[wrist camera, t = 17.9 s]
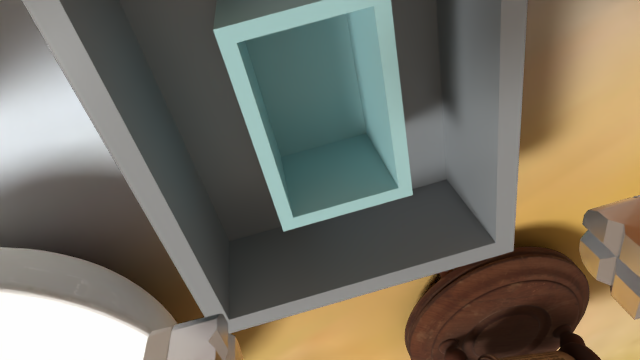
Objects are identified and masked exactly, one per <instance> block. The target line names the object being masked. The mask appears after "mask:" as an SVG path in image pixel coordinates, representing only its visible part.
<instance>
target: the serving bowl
mask: <svg viewBox="0 0 640 360" xmlns="http://www.w3.org/2000/svg"><path fill="white" fill-rule="evenodd" d="M176 324H178V323H177V322H176V321H175V319H174V318H173V317H172V315H171V314H170V313H169V312H168V311H167V310H166V309H165V308H164V307H163V305H162V304H161V303H159V302H158V301H157V300H156V299H155V298H154V297H153V296H152V295H150V294H149V293H148V292H146V291H145V290H144V289H143V288H141V287H140V286H138V285H137V284H135V283H133V282H132V281H130V280H129V279H127V278H125V277H123V276H121V275H119V274H118V273H116V272H113V271H111V270H109V269H107V268H105V267H102V266H100V265H97V264H95V263H92V262H89V261H86V260H82V259H79V258H75V257H72V256H68V255H63V254H59V253H54V252H48V251H42V250H34V249H26V248H9V247H0V360H143V357H144V352H145V347H146V343H147V338H148V337H149V335H150V333H151V332H152V331H154V330H158V329H162V328H166V327H170V326H174V325H176Z"/></svg>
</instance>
